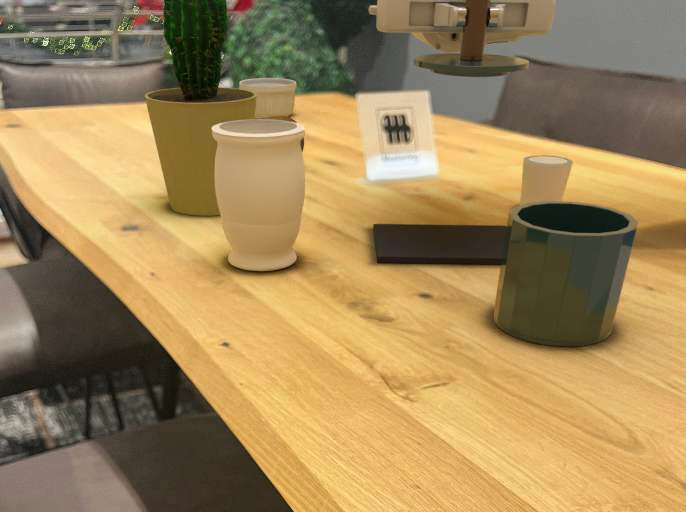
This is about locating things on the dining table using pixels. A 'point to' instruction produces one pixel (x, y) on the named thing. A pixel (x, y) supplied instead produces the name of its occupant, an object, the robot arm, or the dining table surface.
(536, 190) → the beige cylinder
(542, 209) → the storage jar
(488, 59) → the jar lid
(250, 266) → the jar
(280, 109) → the ramekin
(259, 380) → the dining table surface
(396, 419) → the dining table surface
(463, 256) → the mat
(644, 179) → the dining table surface
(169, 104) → the potted cactus
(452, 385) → the dining table surface
